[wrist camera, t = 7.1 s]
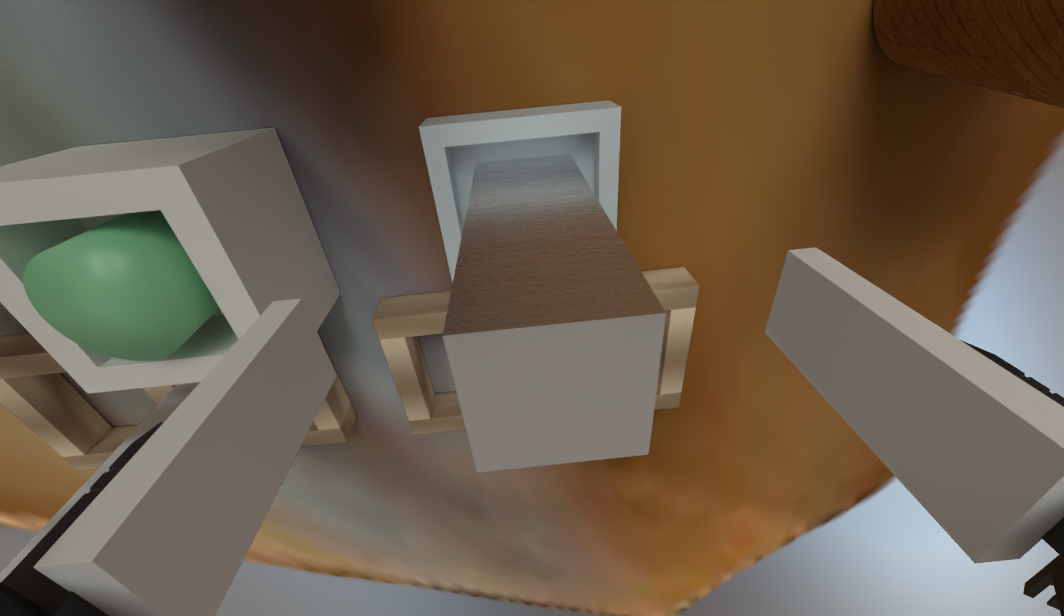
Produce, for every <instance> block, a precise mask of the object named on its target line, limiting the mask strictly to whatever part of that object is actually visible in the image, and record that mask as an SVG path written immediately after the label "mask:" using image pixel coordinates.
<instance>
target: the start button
mask: <svg viewBox="0 0 1064 616" xmlns="http://www.w3.org/2000/svg"><path fill="white" fill-rule="evenodd" d="M23 282H24V288H25V291H26V294H27V296H28V298H29V301H30V302H31V304H32V305H33V307H34V308H35V310H36V311H37V312H38V313H39V314H40V316H41V317H42V318H43V319H44V320H45V321H46V322H47V323H48V324H50V325H51V326H52V327H53V328H54V329H55V330H57V331H58V332H60V333H61V334H62V335H64V336H65V337H67V338H69V339H70V340H72V341H73V342H75V343H77V344H79V345H81V346H83V347H85V348H88V349H90V350H92V351H95V352H98V353H100V354H103V355H107V356H110V357H114V358H119V359H125V360H134V361H146V360H155V359H159V358H163V357H165V356H168V355H170V354H172V353H173V352H175V351H176V350H177V349H178V348H179V347H180V346H181V345H182V344H183V343H184V342H185V341H186V340H187V339H188V338H189V337H191V336H192V335H193V334H194V333H195V332H196V331H197V330H198V329H199V328H200V327H201V326H202V325H203V324H204V323H205V322H206V321H207V320H208V319H209V318H210V317H211V316H212V315H213V314H214V313H215V312H217V311H218V310H219V309H220V307H219V306H218V304H217V302H216V301H215V299H214V298H213V296H212V294H211V293H210V291H209V289H208V288H207V286H206V284H205V283H204V281H203V279H202V278H201V276H200V274H199V273H198V271H197V269H196V268H195V266H194V264H193V263H192V261H191V259H190V258H189V256H188V255H187V253H186V251H185V250H184V248H183V246H182V245H181V243H180V241H179V240H178V238H177V236H176V235H175V233H174V231H173V230H172V228H171V226H170V225H169V223H168V221H167V220H166V218H165V217H164V215H163V213H162V212H161V210H155V211H144V212H134V213H125V214H122V215H120V216H118V217H116V218H114V219H112V220H110V221H107V222H105V223H103V224H101V225H99V226H97V227H95V228H92V229H90V230H88V231H86V232H84V233H82V234H80V235H77V236H75V237H73V238H71V239H69V240H67V241H64V242H62V243H60V244H58V245H56V246H54V247H52V248H49V249H47V250H45V251H43V252H41V253H39V254H37V255H36V256H35V257H33V258H32V259H31V260H30V261H29V263H28V264H27V265H26V268H25V270H24V276H23Z"/></svg>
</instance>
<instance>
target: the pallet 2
mask: <svg viewBox="0 0 1064 616" xmlns="http://www.w3.org/2000/svg"><path fill="white" fill-rule="evenodd" d="M641 272H642V274H643V275H644V277H645V279H646V280H647V282H648V284H649V285H650V287H651V289H652V290H653V292H654V294H655V295H656V297H657V298H658V300H659V302H660V303H661V305H662V307H663V308H664V310H665V312H666V318H665V327H664V335H663V343H662V351H661V359H660V367H659V375H658V383H657V391H656V399H655V407H654V410H657V409H666V408H676V407H679V403H680V397H681V391H682V385H683V380H684V374H685V368H686V362H687V356H688V351H689V345H690V339H691V333H692V327H693V321H694V316H695V310H696V304H697V298H698V292H699V287H700V286H699V285H698V284H697V282H696V281H695V280H694V279H693V277H692V276H691V275H690V274H689V272H688V271H687V270H686V269H685V267H679V268H669V269H660V270H650V271H641ZM450 294H451V291H443V292H434V293H424V294H414V295H404V296H394V297H384V298H382V299H381V301H380V303H379V305H378V308H377V310H376V312H375V314H374V316H373V319H372V321H373V324H374V326H375V329H376V332H377V335H378V337H379V340H380V343H381V346H382V348H383V351H384V354H385V357H386V359H387V362H388V365H389V368H390V370H391V373H392V376H393V379H394V381H395V384H396V387H397V390H398V392H399V395H400V398H401V401H402V403H403V406H404V409H405V412H406V414H407V417H408V420H409V423H410V425H411V428H412V431H413V434H414V435H419V434H429V433H438V432H448V431H457V430H466V427H465V423H464V419H463V415H462V411H461V408H460V404H459V400H458V396H457V392H448V393H438V394H435V393H434V389H433V386H432V382H431V379H430V376H429V372H428V369H427V366H426V362H425V359H424V355H423V352H422V349H421V345H420V342H419V338H418V336H422V335H432V334H442V333H443V330H444V325H445V320H446V315H447V309H448V304H449V299H450Z"/></svg>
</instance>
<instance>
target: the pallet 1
mask: <svg viewBox="0 0 1064 616" xmlns="http://www.w3.org/2000/svg"><path fill="white" fill-rule="evenodd" d="M317 333H318V331H317ZM318 335H319V333H318ZM319 338H320V340H321V337H320V335H319ZM321 342H322V340H321ZM322 344H323V342H322ZM323 346H324V344H323ZM324 349H325V351H326V353H327V350H326V348H325V346H324ZM327 355H328V353H327ZM328 357H329V355H328ZM329 360H330V362H331V364H332V366H333V363H332V361H331V359H330V357H329ZM333 368H334V366H333ZM334 371H335V373H336V375H337V376H336V378H335V380H334V382H333V384H332V386H331V388H330V390H329V392H328V394H327V396H326V398H325V400H324V402H323V403H322V405H321V407H320V409H319V411H318V413H317V415H316V417H315V419H314V421H313V423H312V425H311V427H310V429H309V431H308V433H307V435H306V437H305V439H304V441H303V443H302V445H301V447H305V446H315V445H324V444H334V443H343V442H347V441H348V439H349V436H350V434H351V431H352V428H353V426H354V423H355V420H356V418H357V415H356V413H355V411H354V409H353V407H352V404H351V402H350V400H349V398H348V396H347V394H346V391H345V389H344V387H343V385H342V383H341V381H340V379H339V376H338V374H337V372H336V370H335V368H334ZM62 372H66V371H65V369H64V368H63V367H62V366H61V365H60V364H59V363H58V362H57V361H56V360H55V359H54V358H53V357H52V356H51V355H50V354H49V353H48V352H47V351H46V350H45V349H44V347H43V346H42V345H41V344H40V343H39V342H38V341H37V340H36V339H35V338H34V337H33V336H32V335H31V334H21V335H11V336H1V337H0V402H1V403H2V404H3V405H4V406H5V407H6V408H8V409H9V410H10V411H11V412H12V413H13V414H14V415H15V416H17V417H18V418H19V419H20V420H21V421H22V422H23V423H25V424H26V425H27V426H28V427H29V428H30V429H31V430H33V431H34V432H35V433H36V434H37V435H38V436H39V437H41V438H42V439H43V440H44V441H45V442H46V443H47V444H49V445H50V446H51V447H52V448H53V449H54V450H55V451H56V452H58V453H59V454H60V455H61V456H62V457H63V458H64V459H66V460H67V461H68V462H69V463H70V464H71V465H72V466H74V467H75V468H76V469H77V470H87V469H96V468H98V469H97V471H96V472H95V473H94V474H93V475H92V476H91V477H90V478H89V479H88V480H87V481H86V482H85V483H84V484H83V485H82V487H81V488H80V489H79V490H78V491H77V492H76V493H75V494H74V495H73V496H72V497H71V498H70V499H69V500H68V502H67V503H66V504H65V505H64V506H63V507H62V508H61V509H60V510H59V511H58V512H57V513H56V514H55V515H54V517H53V518H52V519H51V520H50V521H49V522H48V523H47V524H46V525H45V526H44V527H43V528H42V529H41V530H40V532H39V533H38V534H37V535H36V536H35V537H34V538H33V539H32V540H31V541H30V542H29V543H28V545H26V547H25V548H24V549H23V550H22V551H21V552H20V553H19V554H18V555H17V556H16V557H15V558H14V559H13V560H12V561H11V563H10V564H9V565H8V566H7V567H6V568H5V569H4V570H3V571H2V572H1V573H0V582H2V581H3V580H4V579H5V578H6V577H7V576H8V575H9V574H10V573H11V572H12V570H13V569H14V568H15V567H16V566H17V565H18V564H19V563H20V562H21V561H22V560H23V559H24V558H25V557H26V555H27V554H28V553H29V552H30V551H31V550H32V549H33V548H34V547H35V546H36V545H37V544H38V543H39V542H40V541H41V539H42V538H43V537H44V536H45V535H46V534H47V533H48V532H49V531H50V530H51V529H52V528H53V527H54V526H55V525H56V523H57V522H58V521H59V520H60V519H61V518H62V517H63V516H64V515H65V514H66V513H67V512H68V511H69V510H70V509H71V507H72V506H73V505H74V504H75V503H76V502H77V501H78V500H79V499H80V498H81V497H82V496H83V495H84V494H85V493H89V492H90V487H91V486H92V485H93V484H94V483H95V482H96V481H97V480H98V479H99V478H100V476H101V475H102V474H103V473H105V472H108V471H109V467H110V466H111V465H112V464H113V463H114V462H115V460H116V459H117V458H118V457H119V456H120V455H121V454H122V453H123V452H124V451H125V450H126V449H127V448H128V447H129V446H130V444H131V443H133V442H134V441H135V440H137V439H138V438H140V437H141V436H142V435H144V434H145V433H146V432H148V431H149V430H150V429H152V428H153V427H154V426H156V425H157V424H159V423H160V422H165V421H166V420H167V418H168V417H169V416H170V415H171V414H172V413H173V412H174V411H175V410H176V408H177V407H178V406H179V405H180V404H181V403H182V402H183V401H184V400H185V398H186V397H187V396H188V395H189V394H190V393H191V392H192V391H193V390H194V388H195V387H196V386H197V385H198V384H199V383H200V382H195V383H185V384H175V385H166V386H156V387H146V388H142V389H143V390H144V391H145V392H146V393H147V395H148V396H149V397H150V398H151V399H152V401H153V402H154V403H155V404H156V405H157V406H156V407H155V408H154V410H153V411H152V412H151V413H150V414H149V415H148V416H147V417H146V418H145V419H144V420H143V421H142V422H141V423H140V424H139V425H131V426H122V427H111V426H110V425H109V424H108V423H107V422H106V421H105V420H104V419H103V417H102V416H101V415H100V414H99V413H98V412H97V411H96V410H95V409H94V408H93V407H92V406H91V405H90V404H89V403H88V402H87V401H86V400H85V399H84V398H83V397H82V396H81V395H80V394H79V393H78V392H77V391H76V390H75V389H74V388H73V387H72V386H71V384H70V383H69V382H68V381H67V380H66V379H65V378H64V377H63V376H62V375H61V374H60V373H62Z"/></svg>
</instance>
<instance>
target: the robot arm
mask: <svg viewBox="0 0 1064 616" xmlns="http://www.w3.org/2000/svg"><path fill="white" fill-rule="evenodd" d="M765 334H766V335H767V336H768V337H769V338H770V339H771V340H772V341H773V342H774V343H775V344H776V346H777V347H778V348H779V349H780V350H781V351H782V352H783V353H784V354H785V355H786V357H787V358H788V359H789V360H790V361H791V362H792V363H793V364H794V365H795V366H796V368H797V369H798V370H799V371H800V372H801V373H802V374H803V375H804V376H805V377H806V379H807V380H808V381H809V382H810V383H811V384H812V385H813V386H814V387H815V388H816V389H817V391H818V392H819V393H820V394H821V395H822V396H823V397H824V398H825V399H826V400H827V402H828V403H829V404H830V405H831V406H832V407H833V408H834V409H835V410H836V411H837V413H838V414H839V415H840V416H841V417H842V418H843V419H844V420H845V421H846V422H847V423H848V425H849V426H850V427H851V428H852V429H853V430H854V431H855V432H856V433H857V434H858V436H859V437H860V438H861V439H862V440H863V441H864V442H865V443H866V444H867V445H868V447H869V448H870V449H871V450H872V451H873V452H874V453H875V454H876V455H877V456H878V457H879V459H880V460H881V461H882V462H883V463H884V464H885V465H886V466H887V467H888V468H889V470H890V471H891V472H892V473H893V474H894V475H895V476H896V477H897V478H898V479H899V481H900V482H901V483H902V484H903V485H904V486H905V487H906V488H907V489H908V490H909V491H910V493H911V494H913V496H914V497H915V498H916V499H917V500H918V501H919V502H920V503H921V505H922V506H923V507H924V508H925V509H926V510H927V511H928V512H929V513H930V515H931V516H932V517H933V518H934V519H935V520H936V521H937V522H938V523H939V524H940V525H941V527H942V528H943V529H944V530H945V531H946V532H947V533H948V534H949V535H950V536H951V538H952V539H953V540H954V541H955V542H956V543H957V544H958V545H959V546H960V547H961V548H962V550H963V551H964V552H965V553H966V554H967V555H968V556H969V557H970V558H971V560H972V561H973V562H974V563H982V562H992V561H1001V560H1012V559H1020V558H1021V557H1022V556H1023V555H1024V554H1025V553H1026V552H1028V551H1029V550H1030V549H1031V548H1032V547H1033V546H1034V545H1036V544H1037V543H1038V542H1039V541H1040V540H1041V539H1043V540H1044V541H1045V542H1047V543H1048V544H1049V545H1050V546H1051V547H1052V548H1054V550H1055V551H1056V552H1058V553H1059V554H1060V555H1059V556H1057V557H1056V558H1055V559H1054V560H1052V561H1051V562H1050V563H1049V564H1048V565H1046V566H1045V567H1044V568H1043V569H1042V570H1040V571H1039V572H1038V573H1037V574H1036V575H1034V576H1033V577H1032V578H1031V579H1029V580H1028V581H1027V582H1026V583H1025V587H1024V593H1023V594H1025V595H1027V596H1030V597H1032V598H1034V597H1035V596H1036V595H1038V594H1039V593H1040V592H1042V591H1043V590H1044V589H1045V588H1047V587H1048V586H1049V585H1053V586H1054V588H1055V592H1056V595H1054V596H1053V597H1052V598H1051V599H1050V600H1049V601H1048V602H1047V605H1049V606H1052V607H1054V608H1056V609H1058V610H1060V612H1061V616H1064V398H1063V397H1061V396H1060V395H1058V394H1057V393H1054V394H1052V393H1050V391H1049V390H1050V389H1049V388H1047V387H1046V386H1044V385H1042V384H1041V383H1039V382H1038V381H1036V380H1034V379H1033V378H1031V377H1025V375H1024V374H1025V373H1023V372H1021V371H1020V370H1018V369H1017V368H1015V367H1014V366H1012V365H1011V364H1009V363H1007V362H1006V361H1004V360H1003V359H1001V358H999V357H998V356H996V355H994V354H992V353H990V352H987V351H985V350H982V349H980V348H978V347H975V346H973V345H971V344H968V343H966V342H963V341H961V340H959V339H957V338H956V337H954V336H953V335H951V334H950V333H948V332H947V331H945V330H943V329H942V328H940V327H939V326H937V325H936V324H934V323H933V322H931V321H929V320H928V319H926V318H925V317H923V316H922V315H920V314H919V313H917V312H915V311H914V310H912V309H911V308H909V307H908V306H906V305H905V304H903V303H902V302H900V301H898V300H897V299H895V298H894V297H892V296H891V295H889V294H888V293H886V292H884V291H883V290H881V289H880V288H878V287H877V286H875V285H874V284H872V283H870V282H869V281H867V280H866V279H864V278H863V277H861V276H860V275H858V274H856V273H855V272H853V271H852V270H850V269H849V268H847V267H846V266H844V265H843V264H841V263H839V262H838V261H836V260H835V259H833V258H832V257H830V256H829V255H827V254H825V253H824V252H822V251H821V250H819V249H818V248H806V249H796V250H788V252H787V256H786V259H785V263H784V266H783V270H782V273H781V277H780V280H779V284H778V287H777V291H776V294H775V298H774V301H773V305H772V308H771V312H770V315H769V319H768V322H767V326H766V330H765ZM336 376H337V375H336V373H335V371H334V368H333V366H332V364H331V362H330V360H329V357H328V355H327V353H326V351H325V349H324V346H323V344H322V342H321V340H320V338H319V335H318V333H317V331H316V329H315V327H314V324H313V322H312V320H311V318H310V316H309V313H308V311H307V309H306V307H305V305H304V302H303V300H302V299H292V300H282V301H273V302H272V303H271V304H270V305H269V306H268V308H267V309H266V310H265V311H264V312H263V313H262V314H261V315H260V316H259V318H258V319H257V320H256V321H255V322H254V323H253V324H252V325H251V326H250V328H249V329H248V330H247V331H246V332H245V333H244V334H243V335H242V336H241V338H240V339H239V340H238V341H237V342H236V343H235V344H234V345H233V346H232V347H231V349H230V350H229V351H228V352H227V353H226V354H225V355H224V356H223V357H222V359H221V360H220V361H219V362H218V363H217V364H216V365H215V366H214V367H213V369H212V370H211V371H210V372H209V373H208V374H207V375H206V376H205V377H204V379H203V380H202V381H201V382H200V383H199V384H198V385H197V386H196V387H195V388H194V390H193V391H192V392H191V393H190V394H189V395H188V396H187V397H186V398H185V400H184V401H183V402H182V403H181V404H180V405H179V406H178V407H177V408H176V410H175V411H174V412H173V413H172V414H171V415H170V416H169V417H168V418H167V420H166V421H165V422H160V423H159V424H157V425H156V426H154V427H153V428H152V429H150V430H149V431H148V432H146V433H145V434H144V435H142V436H141V437H140V438H138V439H137V440H135V441H134V442H133V443H131V444H130V446H129V447H128V448H127V449H126V450H125V451H124V452H123V453H122V454H121V455H120V456H119V457H118V458H117V459H116V460H115V462H114V463H113V464H112V465H111V466H110V467H109V471H108V472H105V473H103V474H102V475H101V476H100V478H99V479H98V480H97V481H96V482H95V483H94V484H93V485H92V486H91V487H90V492H89V493H85V494H84V495H83V496H82V497H81V498H80V499H79V500H78V501H77V502H76V503H75V504H74V505H73V506H72V507H71V509H70V510H69V511H68V512H67V513H66V514H65V515H64V516H63V517H62V518H61V519H60V520H59V521H58V522H57V523H56V525H55V526H54V527H53V528H52V529H51V530H50V531H49V532H48V533H47V534H46V535H45V536H44V537H43V538H42V539H41V541H40V542H39V543H38V544H37V545H36V546H35V547H34V548H33V549H32V550H31V551H30V552H29V553H28V554H27V555H26V557H25V558H24V559H23V560H22V561H21V562H20V563H19V564H18V565H17V566H16V567H15V568H14V569H13V570H12V572H11V573H10V574H9V575H8V576H7V577H6V578H5V579H4V580H3V581H2V582H0V616H215V615H216V612H217V610H218V609H219V607H220V605H221V602H222V601H223V599H224V597H225V595H226V593H227V591H228V589H229V587H230V585H231V583H232V581H233V579H234V577H235V575H236V573H237V571H238V569H239V567H240V565H241V563H242V561H243V559H244V557H245V556H246V554H247V552H248V550H249V548H250V546H251V544H252V542H253V540H254V538H255V536H256V534H257V532H258V530H259V528H260V526H261V524H262V522H263V520H264V518H265V516H266V514H267V512H268V510H269V508H270V506H271V504H272V502H273V500H274V498H275V496H276V494H277V492H278V490H279V488H280V486H281V484H282V482H283V480H284V479H285V477H286V475H287V473H288V471H289V469H290V467H291V465H292V463H293V461H294V459H295V457H296V455H297V453H298V451H299V449H300V447H301V445H302V443H303V441H304V439H305V437H306V435H307V433H308V431H309V429H310V427H311V425H312V423H313V421H314V419H315V417H316V415H317V413H318V411H319V409H320V407H321V405H322V403H323V402H324V400H325V398H326V396H327V394H328V392H329V390H330V388H331V386H332V384H333V382H334V380H335V378H336Z"/></svg>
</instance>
